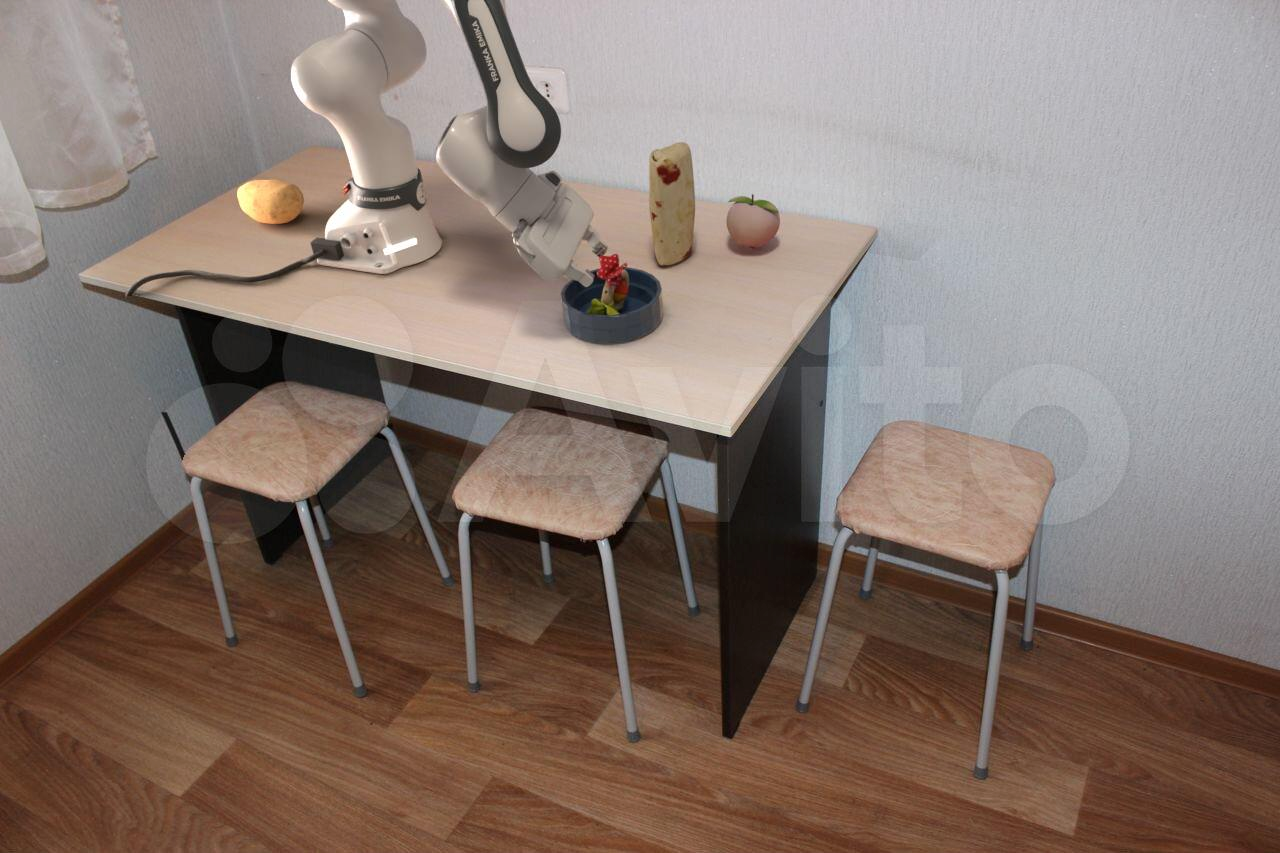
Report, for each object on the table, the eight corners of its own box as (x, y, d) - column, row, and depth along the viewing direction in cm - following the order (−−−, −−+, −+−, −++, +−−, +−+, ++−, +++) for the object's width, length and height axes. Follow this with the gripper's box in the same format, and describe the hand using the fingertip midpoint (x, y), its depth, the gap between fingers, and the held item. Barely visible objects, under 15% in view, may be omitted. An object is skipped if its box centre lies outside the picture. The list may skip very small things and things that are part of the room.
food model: (676, 274, 175) (670, 161, 163) (643, 265, 178) (635, 154, 166) (705, 249, 181) (702, 139, 169) (673, 242, 184) (668, 132, 172)
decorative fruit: (719, 256, 179) (718, 203, 173) (733, 235, 185) (732, 182, 179) (772, 263, 176) (773, 208, 170) (784, 241, 182) (785, 187, 176)
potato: (265, 206, 208) (253, 168, 204) (321, 215, 203) (310, 176, 198) (231, 227, 201) (218, 188, 197) (288, 237, 196) (276, 197, 191)
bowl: (553, 342, 160) (550, 315, 157) (577, 292, 172) (574, 265, 169) (653, 347, 157) (651, 319, 154) (670, 295, 169) (668, 268, 166)
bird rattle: (601, 317, 169) (579, 324, 160) (606, 248, 166) (584, 252, 157) (637, 323, 167) (616, 330, 158) (643, 253, 164) (622, 257, 155)
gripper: (521, 225, 146) (596, 288, 150) (557, 166, 162) (624, 224, 166) (496, 252, 149) (569, 314, 153) (533, 192, 165) (599, 249, 169)
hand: (598, 267), depth 159 cm, fingers open, 8 cm apart
